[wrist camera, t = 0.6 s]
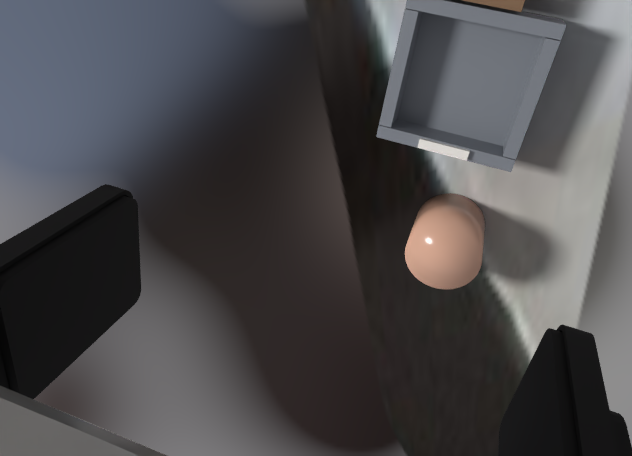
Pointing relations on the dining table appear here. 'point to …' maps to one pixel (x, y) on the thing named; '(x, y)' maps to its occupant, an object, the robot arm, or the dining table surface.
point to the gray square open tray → (468, 79)
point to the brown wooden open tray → (502, 4)
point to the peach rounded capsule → (446, 242)
